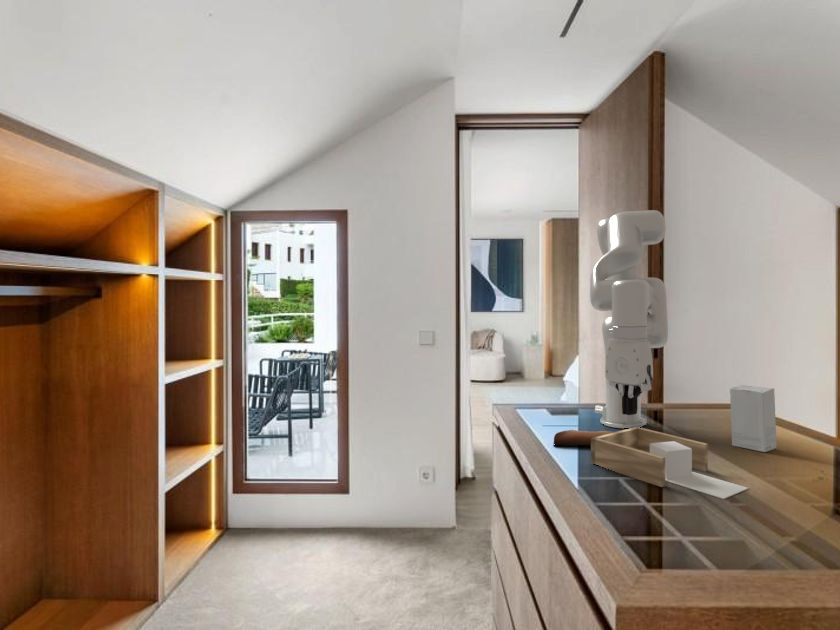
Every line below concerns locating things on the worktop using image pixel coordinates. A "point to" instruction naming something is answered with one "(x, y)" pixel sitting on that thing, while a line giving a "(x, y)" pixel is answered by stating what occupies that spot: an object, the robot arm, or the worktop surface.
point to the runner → (708, 485)
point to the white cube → (674, 458)
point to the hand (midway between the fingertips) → (629, 413)
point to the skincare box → (753, 418)
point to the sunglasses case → (577, 437)
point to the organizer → (641, 453)
